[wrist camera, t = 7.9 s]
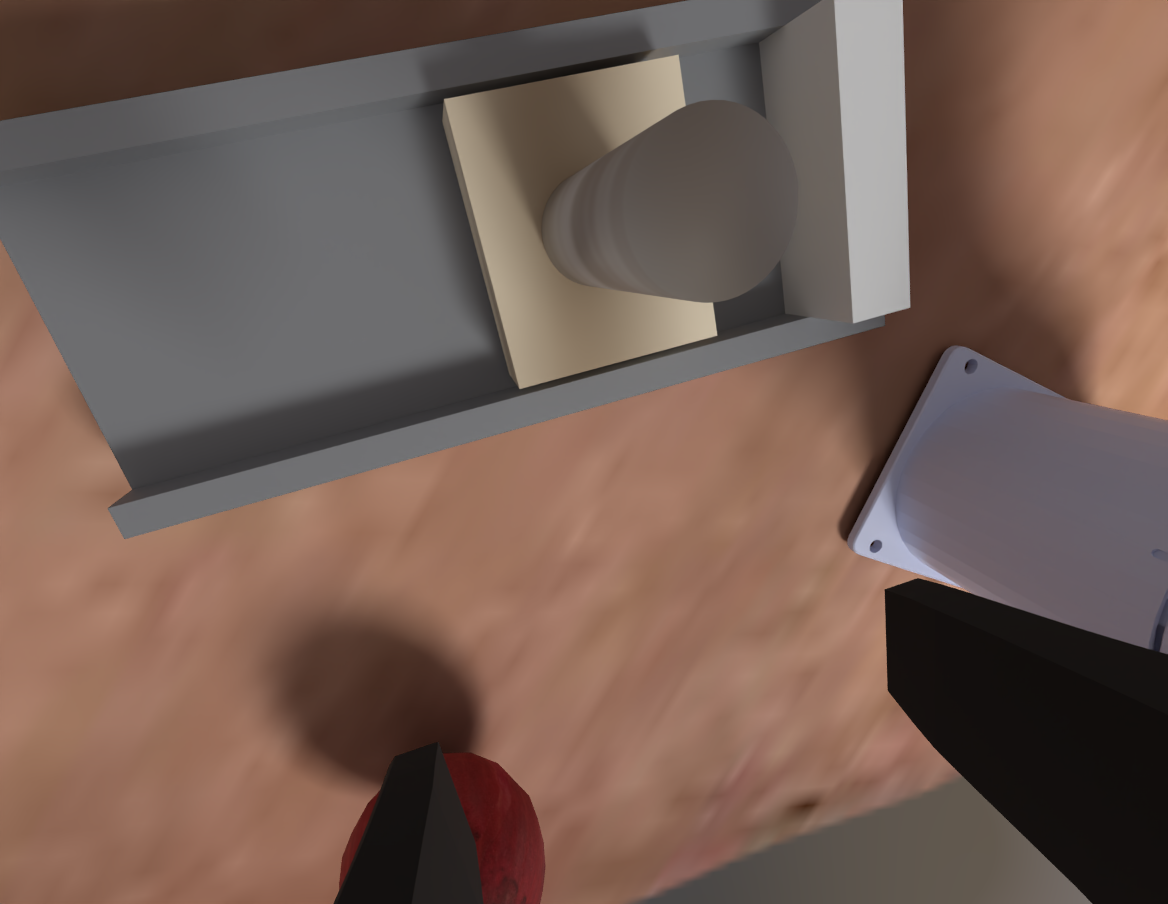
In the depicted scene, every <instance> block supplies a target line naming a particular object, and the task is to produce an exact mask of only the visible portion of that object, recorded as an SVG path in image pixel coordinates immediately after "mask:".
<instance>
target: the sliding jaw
mask: <svg viewBox="0 0 1168 904" xmlns="http://www.w3.org/2000/svg"><path fill="white" fill-rule="evenodd" d="M442 122H443V126H444V130H445V134H446V138H447V141H448V145H449V149H450V153H451V156H452V160H453V164H454V168H455V171H456V175H457V179H458V183H459V187H460V190H461V194H462V198H463V202H464V205H465V209H466V213H467V217H468V220H469V224H470V228H471V232H472V236H473V239H474V243H475V247H476V251H477V254H478V258H479V262H480V266H481V269H482V273H483V277H484V281H485V285H486V288H487V292H488V296H489V300H490V303H491V307H492V311H493V315H494V318H495V322H496V326H497V330H498V333H499V337H500V341H501V345H502V349H503V352H504V356H505V360H506V364H507V367H508V371H509V374H510V376H511V377H512V379H513V380H514V382H515V383H516V385H517V386H518V387H519V389H522V388H525V387H529V386H533V385H537V384H540V383H544V382H548V381H551V380H555V379H559V378H562V377H566V376H570V375H574V374H577V373H581V372H585V371H588V370H592V369H596V368H599V367H603V366H607V365H611V364H614V363H618V362H622V361H625V360H629V359H633V358H636V357H640V356H644V355H648V354H651V353H655V352H659V351H662V350H666V349H670V348H673V347H677V346H681V345H684V344H688V343H692V342H696V341H699V340H703V339H707V338H710V337H714V336H717V329H716V322H715V315H714V308H713V302H720V301H726V300H729V299H732V298H735V297H738V296H740V295H742V294H744V293H746V292H747V291H749V290H750V289H752V288H753V287H755V286H756V285H758V284H759V283H760V282H761V281H762V280H763V279H765V278H766V277H767V275H768V274H769V273H770V272H771V271H772V270H773V269H774V267H775V266H776V265H777V263H778V262H779V260H780V259H781V257H782V255H783V254H784V252H785V250H786V248H787V246H788V244H789V241H790V239H791V236H792V233H793V230H794V227H795V222H796V217H797V212H798V182H797V175H796V171H795V167H794V163H793V160H792V157H791V155H790V152H789V150H788V148H787V146H786V144H785V142H784V140H783V139H782V137H781V136H780V134H779V133H778V132H777V130H776V129H775V128H774V127H773V126H772V125H771V124H770V123H769V122H768V120H766V119H765V118H764V117H763V116H761V115H760V114H759V113H757V112H756V111H754V110H752V109H750V108H749V107H747V106H744V105H741V104H739V103H736V102H731V101H726V100H706V101H699V102H696V103H692V104H689V105H687V106H686V105H685V98H684V90H683V83H682V76H681V69H680V61H679V55H674V56H669V57H664V58H659V59H653V60H648V61H643V62H637V63H632V64H627V65H622V66H616V67H611V68H606V69H601V70H595V71H590V72H585V73H579V74H574V75H569V76H564V77H558V78H553V79H548V80H543V81H537V82H532V83H527V84H521V85H516V86H511V87H506V88H500V89H495V90H490V91H485V92H479V93H474V94H469V95H463V96H458V97H453V98H448V99H444V104H443V118H442Z"/></svg>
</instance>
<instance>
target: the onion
mask: <svg viewBox="0 0 1168 904" xmlns="http://www.w3.org/2000/svg"><path fill="white" fill-rule="evenodd" d="M443 756H444V758H445V761H446V764H447V767H448V769H449V772H450V775H451V778H452V780H453V783H454V786H455V788H456V791H457V794H458V797H459V799H460V802H461V805H462V807H463V810H464V813H465V816H466V818H467V821H468V824H469V826H470V829H471V832H472V835H473V837H474V840H475V843H476V848H477V856H478V864H479V871H480V879H481V887H482V895H483V903H484V904H540V901H541V896H542V891H543V883H544V875H545V855H544V842H543V838H542V834H541V830H540V826H539V822H538V818H537V816H536V813H535V810H534V808H533V805H532V802H531V800H530V797H529V795H528V794H527V793H526V792H525V791H524V790H523V789H522V788H521V787H520V786H519V785H518V784H517V783H516V782H515V781H514V780H513V779H512V778H511V777H510V775H509V774H508V773H507V772H506V771H505V770H504V769H503V768H502V767H501V766H500V765H499V764H498V763H496V762H493V761H491V760H488V759H485V758H483V757H480V756H478V755H475V754H473V753H443ZM379 792H380V791H379ZM379 792H378V793H377V794H376V795H375V796H374V797H373V799H372V800H371V801H370V802H369V803H368V804H367V806H366V808H365V810H364V812H363V813H362V815H361V817H360V819H359V821H358V823H357V824H356V826H355V828H354V830H353V832H352V834H351V836H350V839H349V841H348V844H347V847H346V849H345V852H344V854H343V857H342V864H341V873H340V882H339V890H340V888H341V885H342V883H343V881H344V879H345V876H346V874H347V872H348V869H349V867H350V865H351V863H352V860H353V858H354V855H355V853H356V850H357V848H358V845H359V843H360V841H361V838H362V836H363V833H364V831H365V828H366V826H367V823H368V821H369V818H370V816H371V813H372V811H373V808H374V805H375V803H376V800H377V798H378V795H379Z"/></svg>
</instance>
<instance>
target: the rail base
mask: <svg viewBox="0 0 1168 904" xmlns="http://www.w3.org/2000/svg"><path fill="white" fill-rule="evenodd" d="M674 55H679V61H680V69H681V76H682V83H683V90H684V98H685V105H686V106H687V105H689V104H692V103H696V102H699V101H706V100H726V101H731V102H736V103H739V104H741V105H744V106H747V107H749V108H750V109H752V110H754V111H756V112H757V113H759V114H760V115H761V116H763V117H764V118H765V119H766V120H768V122H769V123H770V124H771V125H772V126H773V127H774V128H775V129H776V130H777V132H778V133H779V134H780V136H781V137H782V139H783V140H784V142H785V144H786V146H787V148H788V150H789V152H790V155H791V157H792V160H793V163H794V167H795V171H796V175H797V182H798V212H797V217H796V222H795V227H794V230H793V233H792V236H791V239H790V241H789V244H788V246H787V248H786V250H785V252H784V254H783V255H782V257H781V259H780V260H779V262H778V263H777V265H776V266H775V267H774V269H773V270H772V271H771V272H770V273H769V274H768V275H767V277H766V278H765V279H763V280H762V281H761V282H760V283H759V284H758V285H756V286H755V287H753V288H752V289H750V290H749V291H747V292H746V293H744V294H742V295H740V296H738V297H735V298H732V299H729V300H726V301H720V302H713V308H714V315H715V322H716V329H717V336H714V337H710V338H707V339H703V340H699V341H696V342H692V343H688V344H684V345H681V346H677V347H673V348H670V349H666V350H662V351H659V352H655V353H651V354H648V355H644V356H640V357H636V358H633V359H629V360H625V361H622V362H618V363H614V364H611V365H607V366H603V367H599V368H596V369H592V370H588V371H585V372H581V373H577V374H574V375H570V376H566V377H562V378H559V379H555V380H551V381H548V382H544V383H540V384H537V385H533V386H529V387H525V388H522V389H519V387H518V386H517V385H516V383H515V382H514V380H513V379H512V377H511V376H510V374H509V371H508V367H507V364H506V360H505V356H504V352H503V349H502V345H501V341H500V337H499V333H498V330H497V326H496V322H495V318H494V315H493V311H492V307H491V303H490V300H489V296H488V292H487V288H486V285H485V281H484V277H483V273H482V269H481V266H480V262H479V258H478V254H477V251H476V247H475V243H474V239H473V236H472V232H471V228H470V224H469V220H468V217H467V213H466V209H465V205H464V202H463V198H462V194H461V190H460V187H459V183H458V179H457V175H456V171H455V168H454V164H453V160H452V156H451V153H450V149H449V145H448V141H447V138H446V134H445V130H444V126H443V122H442V118H443V104H444V99H448V98H453V97H458V96H463V95H469V94H474V93H479V92H485V91H490V90H495V89H500V88H506V87H511V86H516V85H521V84H527V83H532V82H537V81H543V80H548V79H553V78H558V77H564V76H569V75H574V74H579V73H585V72H590V71H595V70H601V69H606V68H611V67H616V66H622V65H627V64H632V63H637V62H643V61H648V60H653V59H659V58H664V57H669V56H674ZM0 239H1V241H2V243H3V245H4V247H5V249H6V251H7V252H8V254H9V256H10V258H11V260H12V262H13V264H14V266H15V268H16V270H17V271H18V273H19V275H20V277H21V279H22V281H23V283H24V285H25V287H26V289H27V290H28V292H29V294H30V296H31V298H32V300H33V302H34V304H35V306H36V308H37V309H38V311H39V313H40V315H41V317H42V319H43V321H44V323H45V325H46V327H47V328H48V330H49V332H50V334H51V336H52V338H53V340H54V342H55V344H56V346H57V347H58V349H59V351H60V353H61V355H62V357H63V359H64V361H65V363H66V365H67V366H68V368H69V370H70V372H71V374H72V376H73V378H74V380H75V382H76V384H77V385H78V387H79V389H80V391H81V393H82V395H83V397H84V399H85V401H86V402H87V404H88V406H89V408H90V410H91V412H92V414H93V416H94V418H95V420H96V421H97V423H98V425H99V427H100V429H101V431H102V433H103V435H104V437H105V439H106V440H107V442H108V444H109V446H110V448H111V450H112V452H113V454H114V456H115V458H116V459H117V461H118V463H119V465H120V467H121V469H122V471H123V473H124V475H125V477H126V478H127V480H128V482H129V484H130V486H131V488H132V490H131V491H130V492H128V493H127V494H126V495H125V496H123V497H122V498H121V499H119V500H118V501H117V502H115V503H114V504H113V505H111V506H110V507H109V508H108V510H109V512H110V514H111V515H112V517H113V519H114V521H115V523H116V525H117V526H118V528H119V530H120V532H121V534H122V536H123V537H124V539H127V538H130V537H134V536H137V535H141V534H145V533H148V532H152V531H155V530H159V529H162V528H166V527H170V526H173V525H177V524H180V523H184V522H187V521H191V520H194V519H198V518H202V517H205V516H209V515H212V514H216V513H219V512H223V511H227V510H230V509H234V508H237V507H241V506H244V505H248V504H251V503H255V502H259V501H262V500H266V499H269V498H273V497H276V496H280V495H283V494H287V493H291V492H294V491H298V490H301V489H305V488H308V487H312V486H316V485H319V484H323V483H326V482H330V481H333V480H337V479H340V478H344V477H348V476H351V475H355V474H358V473H362V472H365V471H369V470H373V469H376V468H380V467H383V466H387V465H390V464H394V463H397V462H401V461H405V460H408V459H412V458H415V457H419V456H422V455H426V454H430V453H433V452H437V451H440V450H444V449H447V448H451V447H454V446H458V445H462V444H465V443H469V442H472V441H476V440H479V439H483V438H486V437H490V436H494V435H497V434H501V433H504V432H508V431H511V430H515V429H519V428H522V427H526V426H529V425H533V424H536V423H540V422H543V421H547V420H551V419H554V418H558V417H561V416H565V415H568V414H572V413H576V412H579V411H583V410H586V409H590V408H593V407H597V406H600V405H604V404H608V403H611V402H615V401H618V400H622V399H625V398H629V397H632V396H636V395H640V394H643V393H647V392H650V391H654V390H657V389H661V388H665V387H668V386H672V385H675V384H679V383H682V382H686V381H689V380H693V379H697V378H700V377H704V376H707V375H711V374H714V373H718V372H722V371H725V370H729V369H732V368H736V367H739V366H743V365H746V364H750V363H754V362H757V361H761V360H764V359H768V358H771V357H775V356H779V355H782V354H786V353H789V352H793V351H796V350H800V349H803V348H807V347H811V346H814V345H818V344H821V343H825V342H828V341H832V340H835V339H839V338H843V337H846V336H850V335H853V334H857V333H860V332H864V331H868V330H871V329H875V328H878V327H882V326H885V314H889V313H892V312H896V311H900V310H903V309H907V308H910V275H909V235H908V195H907V155H906V115H905V75H904V36H903V0H688V1H682V2H676V3H670V4H665V5H659V6H653V7H648V8H642V9H636V10H630V11H625V12H619V13H613V14H608V15H602V16H596V17H590V18H585V19H579V20H573V21H568V22H562V23H556V24H550V25H545V26H539V27H533V28H528V29H522V30H516V31H510V32H505V33H499V34H493V35H488V36H482V37H476V38H470V39H465V40H459V41H453V42H448V43H442V44H436V45H430V46H425V47H419V48H413V49H408V50H402V51H396V52H390V53H385V54H379V55H373V56H368V57H362V58H356V59H351V60H345V61H339V62H333V63H328V64H322V65H316V66H311V67H305V68H299V69H293V70H288V71H282V72H276V73H271V74H265V75H259V76H253V77H248V78H242V79H236V80H231V81H225V82H219V83H213V84H208V85H202V86H196V87H191V88H185V89H179V90H173V91H168V92H162V93H156V94H151V95H145V96H139V97H133V98H128V99H122V100H116V101H111V102H105V103H99V104H93V105H88V106H82V107H76V108H71V109H65V110H59V111H53V112H48V113H42V114H36V115H31V116H25V117H19V118H13V119H8V120H2V121H0Z"/></svg>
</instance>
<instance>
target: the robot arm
mask: <svg viewBox="0 0 1168 904" xmlns="http://www.w3.org/2000/svg"><path fill="white" fill-rule="evenodd" d="M967 361H968V365H967V368H966V369H965V364H966V363H967ZM847 541H848V546H849V548H850V549H851V550H852V551H854V552H855V553H857V554H859V555H862V556H865V557H868V558H871V559H874V560H877V561H880V562H883V563H886V564H890V565H893V566H896V567H899V568H902V569H905V570H908V571H911V572H914V573H917V574H920V575H924V576H927V577H930V578H933V579H936V580H939V581H942V582H945V583H948V584H951V585H955V586H958V587H961V588H964V589H966V590H967V591H969V592H971V593H972V594H971V593H968V592H964V591H961V590H958V589H955V588H951V587H948V586H945V585H941V584H938V583H934V582H930V581H927V580H923V579H919V578H917V579H914V580H911V581H908V582H905V583H902V584H900V585H897V586H894V587H891V588H888V589H885V613H886V647H887V681H888V691H889V693H890V694H891V695H892V697H893V698H894V699H895V700H896V702H897V703H898V704H899V705H900V707H901V708H902V709H903V710H904V712H905V713H906V714H907V716H908V717H909V718H910V719H911V721H912V722H913V723H914V724H915V725H916V727H917V728H918V729H919V730H920V731H921V733H922V734H923V735H924V736H925V737H926V738H927V740H928V741H929V742H930V743H931V744H932V746H933V747H934V748H935V749H936V750H937V751H938V752H939V753H940V754H941V755H942V756H943V757H944V758H945V759H946V760H947V761H948V762H949V763H950V764H951V765H952V766H953V767H954V768H955V769H956V770H957V771H958V772H959V773H960V774H961V775H962V776H963V777H964V778H965V779H966V780H967V781H968V782H969V783H970V784H971V785H972V786H973V787H974V788H975V789H976V790H977V791H978V792H979V793H980V794H982V796H983V797H984V798H985V799H987V800H988V801H989V802H990V803H991V804H992V805H993V806H994V807H995V808H996V809H997V810H998V811H999V812H1000V813H1001V814H1002V815H1003V816H1004V817H1005V818H1006V819H1007V820H1008V821H1009V822H1010V823H1011V824H1012V825H1013V826H1014V827H1015V828H1016V829H1017V830H1018V831H1019V832H1021V834H1023V836H1025V837H1026V838H1027V839H1028V840H1029V841H1030V842H1031V843H1032V844H1033V845H1034V846H1035V847H1036V848H1037V849H1038V850H1039V851H1040V852H1041V853H1042V854H1043V855H1044V856H1045V857H1046V858H1047V859H1048V860H1049V861H1050V862H1051V863H1052V864H1053V865H1054V866H1055V867H1056V868H1057V869H1058V870H1059V871H1060V872H1062V873H1063V874H1064V875H1065V876H1066V877H1067V878H1068V879H1069V880H1070V881H1071V882H1072V883H1073V884H1074V885H1075V886H1076V887H1077V888H1078V889H1079V890H1080V891H1081V892H1082V893H1083V894H1084V895H1085V896H1086V897H1087V899H1088V900H1089V901H1090V902H1091V903H1092V904H1168V420H1163V419H1158V418H1154V417H1149V416H1144V415H1140V414H1135V413H1130V412H1126V411H1121V410H1116V409H1112V408H1107V407H1102V406H1098V405H1093V404H1088V403H1084V402H1079V401H1074V400H1070V399H1067V398H1065V397H1063V396H1061V395H1059V394H1057V393H1055V392H1053V391H1051V390H1049V389H1047V388H1045V387H1043V386H1042V385H1040V384H1038V383H1036V382H1034V381H1032V380H1030V379H1028V378H1026V377H1024V376H1022V375H1020V374H1018V373H1016V372H1014V371H1012V370H1010V369H1008V368H1006V367H1004V366H1002V365H1000V364H999V363H997V362H995V361H993V360H991V359H989V358H987V357H985V356H983V355H981V354H979V353H977V352H975V351H973V350H971V349H969V348H967V347H963V346H957V345H955V346H951V347H949V348H948V349H947V350H946V351H945V352H944V353H943V355H942V357H941V358H940V360H939V362H938V364H937V366H936V368H935V370H934V372H933V374H932V376H931V378H930V380H929V382H928V384H927V386H926V387H925V389H924V391H923V393H922V395H921V397H920V399H919V401H918V403H917V405H916V407H915V409H914V411H913V413H912V415H911V417H910V418H909V420H908V422H907V424H906V426H905V428H904V430H903V432H902V434H901V436H900V438H899V440H898V442H897V444H896V446H895V447H894V449H893V451H892V453H891V455H890V457H889V459H888V461H887V463H886V465H885V467H884V469H883V471H882V473H881V475H880V476H879V478H878V480H877V482H876V484H875V486H874V488H873V490H872V492H871V494H870V496H869V498H868V500H867V502H866V504H865V505H864V507H863V509H862V511H861V513H860V515H859V517H858V519H857V521H856V523H855V525H854V527H853V529H852V531H851V533H850V535H849V537H848V540H847ZM873 541H875V542H874V544H873V545H872V546H871V547H870V545H871V543H872V542H873ZM334 904H484V903H483V895H482V887H481V879H480V871H479V864H478V856H477V848H476V843H475V840H474V837H473V835H472V832H471V829H470V826H469V824H468V821H467V818H466V816H465V813H464V810H463V807H462V805H461V802H460V799H459V797H458V794H457V791H456V788H455V786H454V783H453V780H452V778H451V775H450V772H449V769H448V767H447V764H446V761H445V758H444V756H443V753H442V750H441V748H440V745H439V742H436V743H433V744H430V745H427V746H424V747H421V748H418V749H416V750H413V751H410V752H407V753H404V754H401V755H398V756H395V758H394V759H393V761H392V762H391V764H390V765H389V768H388V771H387V774H386V776H385V779H384V782H383V784H382V787H381V790H380V792H379V795H378V798H377V800H376V803H375V805H374V808H373V811H372V813H371V816H370V818H369V821H368V823H367V826H366V828H365V831H364V833H363V836H362V838H361V841H360V843H359V845H358V848H357V850H356V853H355V855H354V858H353V860H352V863H351V865H350V867H349V869H348V872H347V874H346V876H345V879H344V881H343V883H342V885H341V888H340V890H339V892H338V895H337V897H336V899H335V901H334Z"/></svg>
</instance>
